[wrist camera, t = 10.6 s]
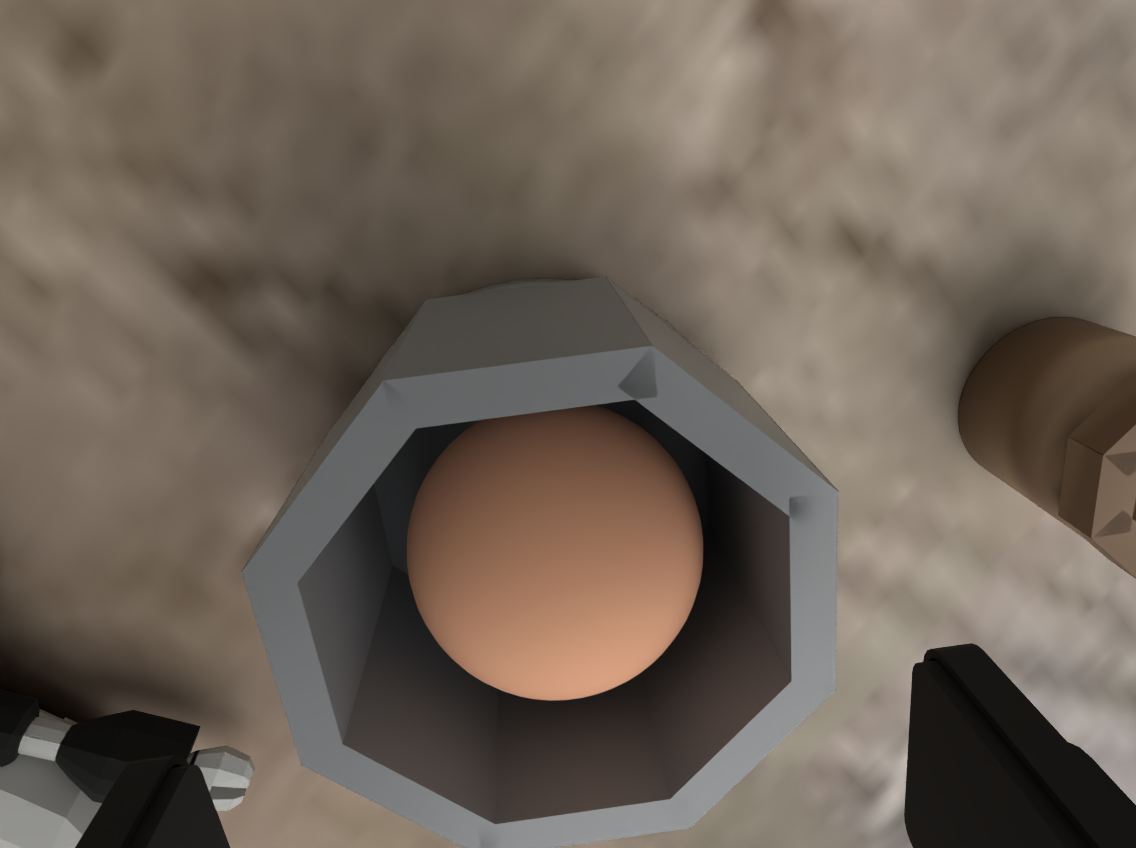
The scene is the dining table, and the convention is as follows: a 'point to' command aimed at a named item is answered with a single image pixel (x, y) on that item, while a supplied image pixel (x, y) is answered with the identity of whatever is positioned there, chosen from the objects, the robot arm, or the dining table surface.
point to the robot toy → (90, 767)
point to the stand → (1062, 426)
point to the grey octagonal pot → (509, 722)
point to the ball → (555, 551)
